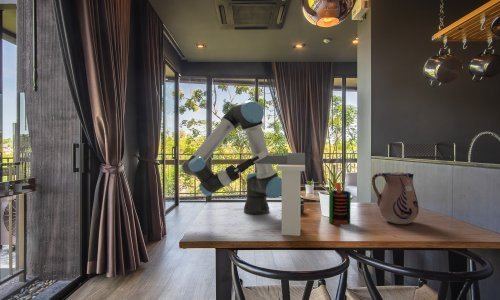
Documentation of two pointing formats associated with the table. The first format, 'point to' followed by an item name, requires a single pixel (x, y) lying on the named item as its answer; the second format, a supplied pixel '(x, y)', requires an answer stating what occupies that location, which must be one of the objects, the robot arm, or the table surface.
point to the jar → (302, 206)
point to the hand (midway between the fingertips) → (266, 153)
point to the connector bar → (283, 159)
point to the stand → (291, 198)
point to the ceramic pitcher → (397, 197)
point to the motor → (339, 206)
